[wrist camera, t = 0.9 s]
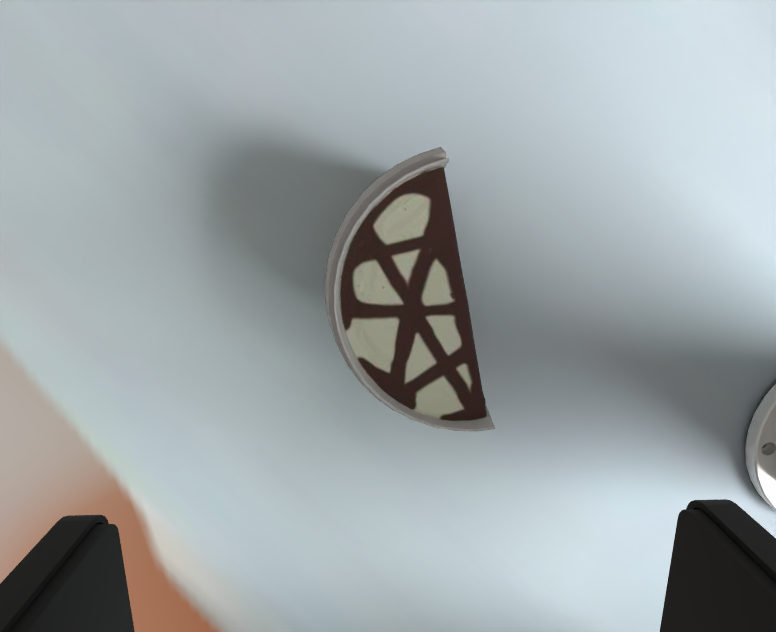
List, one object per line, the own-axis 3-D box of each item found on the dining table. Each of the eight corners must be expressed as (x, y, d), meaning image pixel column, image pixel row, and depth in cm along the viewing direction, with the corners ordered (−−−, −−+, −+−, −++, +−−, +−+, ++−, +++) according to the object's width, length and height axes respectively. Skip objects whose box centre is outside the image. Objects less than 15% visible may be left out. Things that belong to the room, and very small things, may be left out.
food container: (318, 181, 29) (284, 177, 19) (426, 158, 29) (446, 143, 19) (365, 381, 32) (356, 466, 22) (462, 362, 32) (496, 440, 22)
